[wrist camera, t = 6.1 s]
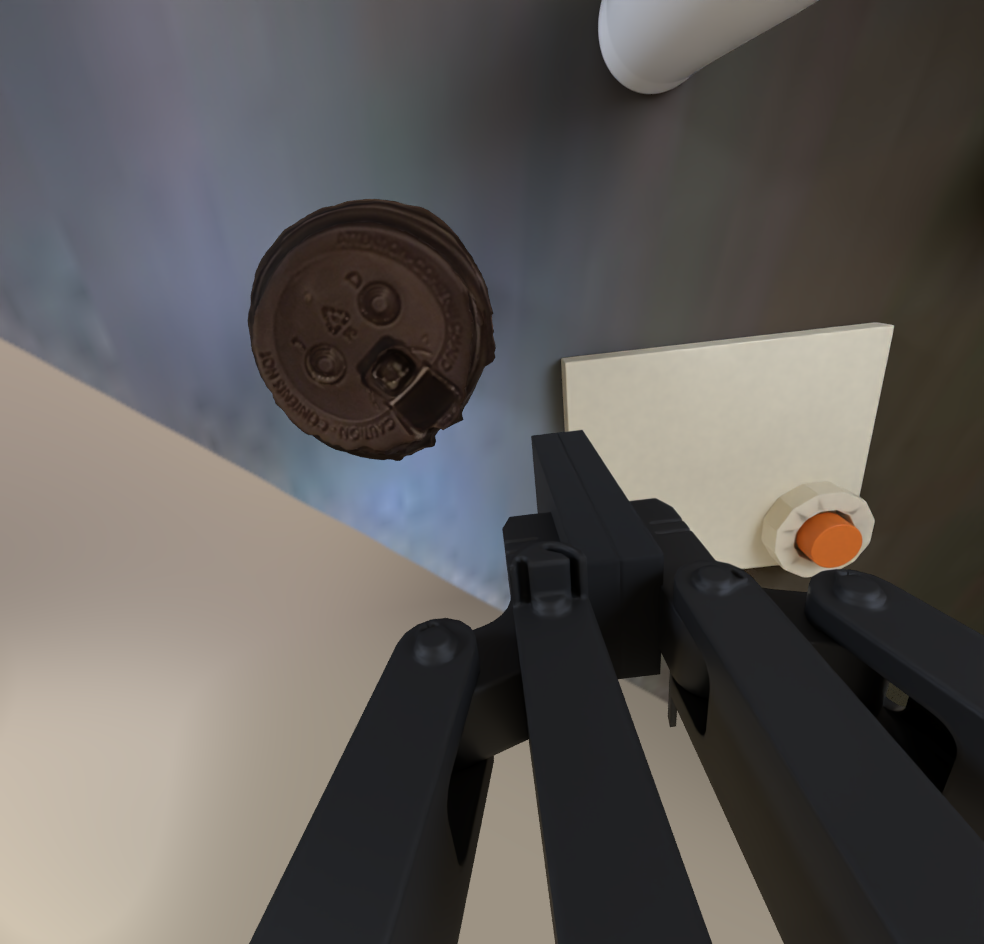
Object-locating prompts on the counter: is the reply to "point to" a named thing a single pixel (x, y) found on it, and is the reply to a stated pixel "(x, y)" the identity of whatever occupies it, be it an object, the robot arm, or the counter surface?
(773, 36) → the counter surface
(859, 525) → the scale
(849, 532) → the button
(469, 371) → the coffee cup
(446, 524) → the counter surface
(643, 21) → the drinking glass
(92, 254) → the counter surface
